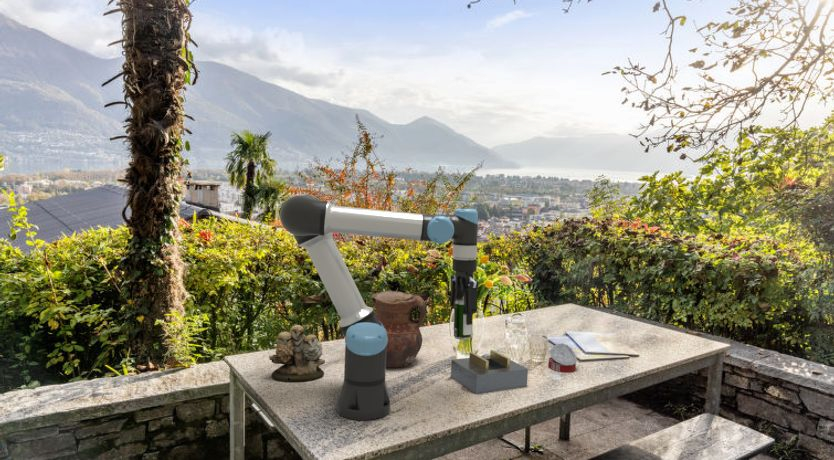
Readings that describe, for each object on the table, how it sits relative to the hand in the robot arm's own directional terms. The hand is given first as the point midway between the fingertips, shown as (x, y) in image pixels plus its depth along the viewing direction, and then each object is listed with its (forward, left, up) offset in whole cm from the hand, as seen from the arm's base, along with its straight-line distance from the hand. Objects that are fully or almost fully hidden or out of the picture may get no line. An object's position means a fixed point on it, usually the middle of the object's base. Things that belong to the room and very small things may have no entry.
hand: (462, 331), depth 155 cm
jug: (-9, +34, -20) cm, 40 cm away
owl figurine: (-45, +30, -20) cm, 57 cm away
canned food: (+49, +8, -20) cm, 54 cm away
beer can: (0, 0, -2) cm, 2 cm away
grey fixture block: (+16, +6, -19) cm, 26 cm away
